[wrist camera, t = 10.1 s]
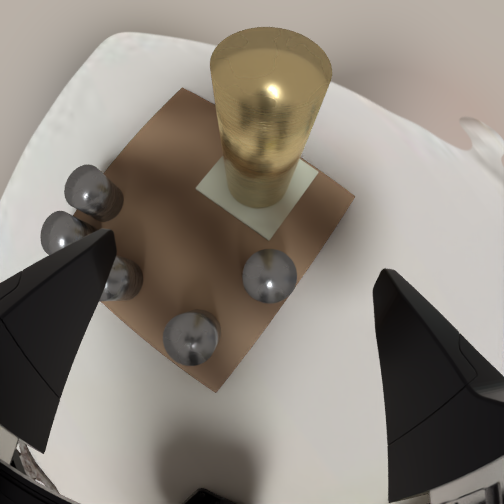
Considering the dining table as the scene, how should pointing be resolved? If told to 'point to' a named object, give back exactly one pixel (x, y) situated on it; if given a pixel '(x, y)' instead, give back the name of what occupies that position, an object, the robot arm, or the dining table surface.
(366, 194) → the dining table surface
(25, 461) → the pliers
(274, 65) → the disc
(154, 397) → the dining table surface
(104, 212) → the spacer posts
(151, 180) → the walnut board
